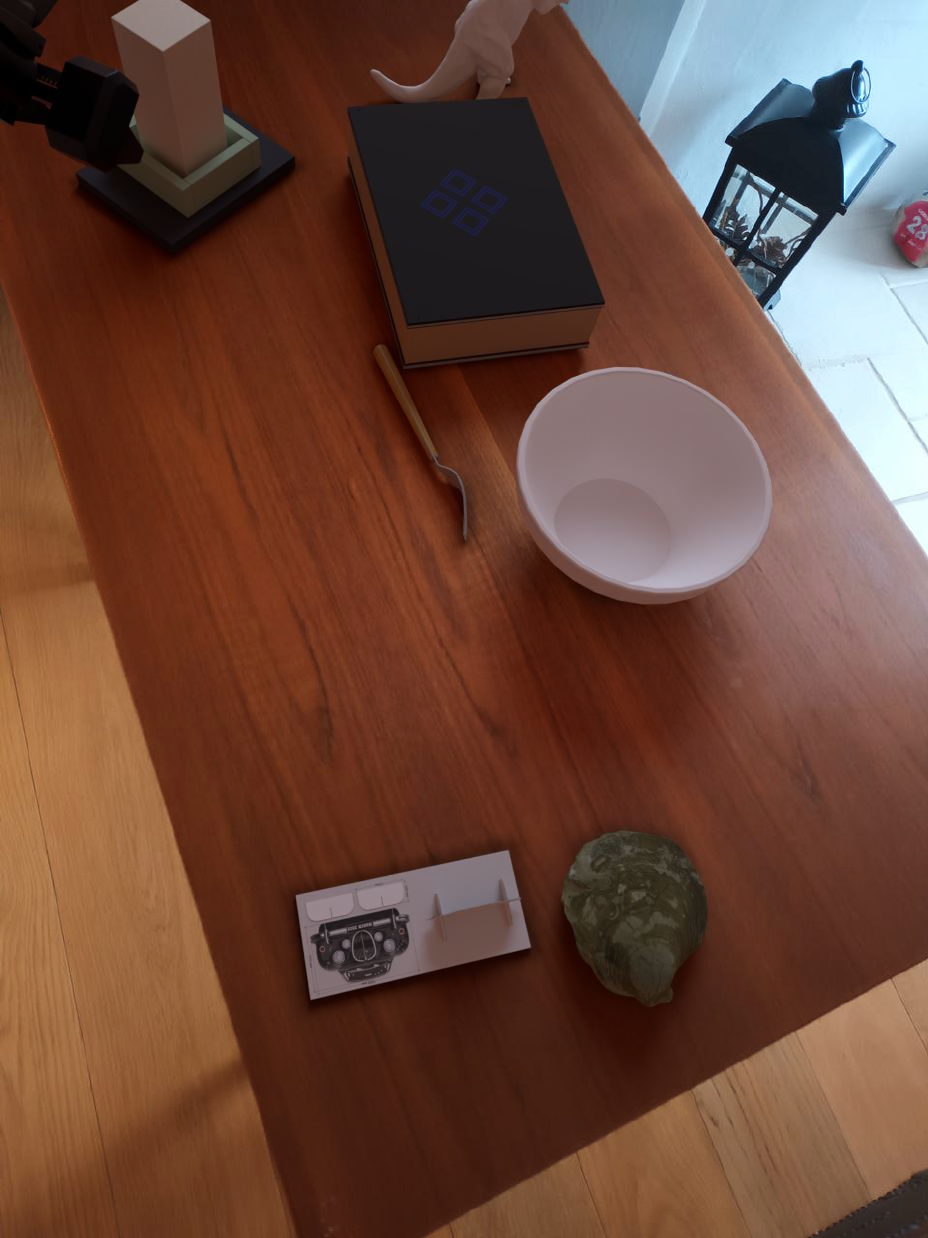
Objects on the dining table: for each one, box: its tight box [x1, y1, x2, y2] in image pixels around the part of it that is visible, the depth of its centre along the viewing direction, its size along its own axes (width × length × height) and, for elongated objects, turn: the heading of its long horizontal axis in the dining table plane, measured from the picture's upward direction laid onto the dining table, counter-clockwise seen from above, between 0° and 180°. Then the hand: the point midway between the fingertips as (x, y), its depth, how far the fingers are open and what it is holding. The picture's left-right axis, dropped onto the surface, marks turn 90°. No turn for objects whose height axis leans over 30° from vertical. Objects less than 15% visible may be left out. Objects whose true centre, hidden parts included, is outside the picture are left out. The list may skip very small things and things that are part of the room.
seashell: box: [560, 829, 709, 1008], centre depth 60 cm, size 10×7×10 cm
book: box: [346, 96, 606, 371], centre depth 79 cm, size 17×25×7 cm
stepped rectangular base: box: [75, 104, 296, 256], centre depth 80 cm, size 16×12×4 cm
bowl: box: [514, 366, 774, 605], centre depth 69 cm, size 20×20×10 cm
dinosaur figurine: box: [369, 0, 570, 104], centre depth 84 cm, size 20×10×15 cm, turn 108°
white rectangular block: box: [110, 0, 228, 179], centre depth 75 cm, size 5×5×14 cm
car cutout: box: [295, 849, 532, 1001], centre depth 57 cm, size 15×7×4 cm, turn 102°
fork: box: [372, 344, 468, 543], centre depth 73 cm, size 2×2×20 cm
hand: (94, 137), depth 69 cm, fingers open, 9 cm apart
